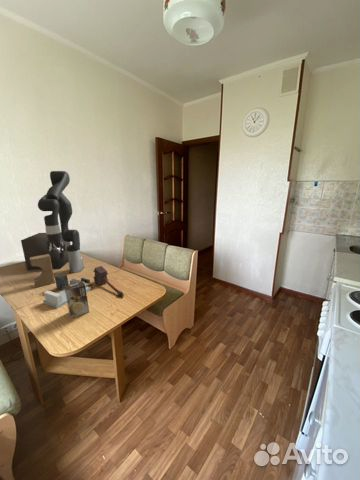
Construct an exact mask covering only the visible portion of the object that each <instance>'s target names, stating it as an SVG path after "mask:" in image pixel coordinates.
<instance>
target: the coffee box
mask: <svg viewBox="0 0 360 480" xmlns="http://www.w3.org/2000/svg"><path fill="white" fill-rule="evenodd" d="M80 281H81V280H80ZM68 284H69V285H65V286H64V288H65V293H66V298H67V303H66V304H67V309H68V314H69V316H70V319H73V318H77V317H79V316H82V315H85V314H87V313H90V307H89V301H88V296H87V292H86V287H85V285H86V283H85V284H84V283H83V281H81V282H77V283H73V284H70V283H68Z"/></svg>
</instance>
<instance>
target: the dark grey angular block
mask: <svg viewBox="0 0 360 480" xmlns="http://www.w3.org/2000/svg"><path fill="white" fill-rule="evenodd" d="M46 241H48V240H47V235H46V232H38V233H35V234H33V235H30V236H28V237H26V238H25V237H24V239H21V240H20V242H21V248H22V251H23V252H22V253H23V256H24V257H23V258H24V261H25V267H26V270H27V271H37V270H39V271H42V269H41V268H40V267H37V266H31V264H30V259H29V258H30V257H35V256H40V255H46V254H49V255H50V258H51V264H52V269H53V270H61V269H62V268H63V267H64V266H66V264H69V262H68V255H67V249H66V248H67V247H68V246H70V245H72V243H71V242H66V241H64V240H63V239H62V234H61V240H60V242H61V243H62V242H64V244H65V249H66V251H65V252H64V258H62V259H61V258H60V255H59V251H58V250H56V249H54V251H55V256H53V257H51V253H50V251H49V250H48V249H47V244H46ZM49 247H50V246H49ZM59 248H60V247H59ZM63 250H64V249H63ZM60 251H61V250H60Z"/></svg>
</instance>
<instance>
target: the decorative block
mask: <svg viewBox="0 0 360 480" xmlns="http://www.w3.org/2000/svg"><path fill="white" fill-rule="evenodd" d="M29 259H30V264H31V266H37V267H40V268H41V269H42V270H41V273H40V274H39V275H38V276H37V277H34V278H33V282H34V286H35V288H36V289H37V288H39V287H44V286H47V285H51V284H54V283H55V284H56V281H55V276H54V271H53V270H54V269H52V264H51V258H50V255H49V254H46V255H40V256H35V257H30V258H29Z"/></svg>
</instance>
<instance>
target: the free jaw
mask: <svg viewBox="0 0 360 480" xmlns="http://www.w3.org/2000/svg"><path fill="white" fill-rule="evenodd" d="M81 281H83V283H84V284H85V287H86V286H87V285H89V284H91V279H88V278H85V277H81V278H80V280H79V279H76V278H72V279H70V280H69V284H73V283H77V282H81ZM86 284H87V285H86Z"/></svg>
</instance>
